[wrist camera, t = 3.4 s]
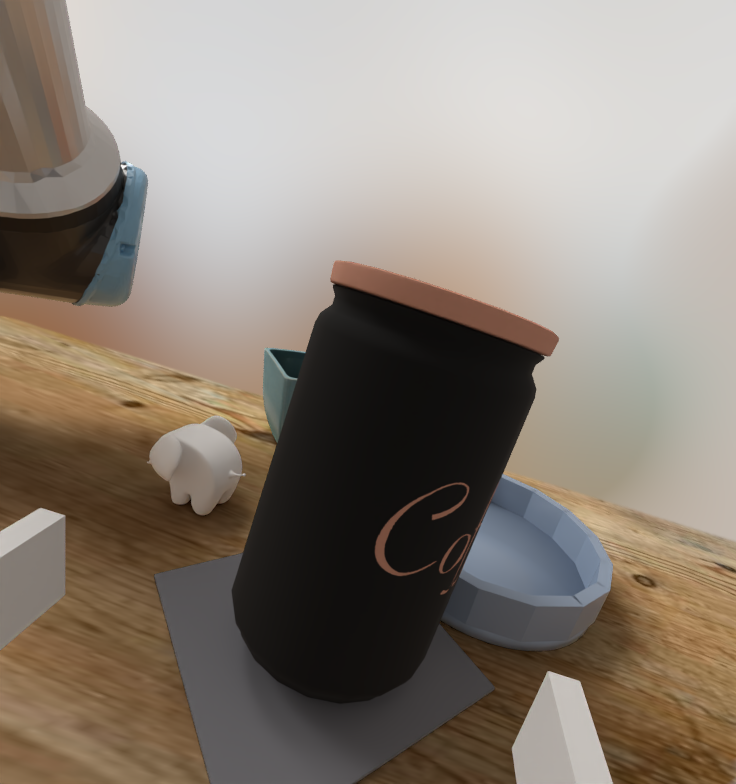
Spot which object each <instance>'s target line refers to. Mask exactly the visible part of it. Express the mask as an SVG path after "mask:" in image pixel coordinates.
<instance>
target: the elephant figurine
mask: <svg viewBox="0 0 736 784" xmlns="http://www.w3.org/2000/svg"><path fill="white" fill-rule="evenodd" d="M236 438H237V433H236V431H235V429H234V427H233V426H232V424H231V423H230V422H229V421H228V420H226V419H225V418H223V417H220V416H212V417H210V418H208V419H207V420H205V421H204V422H203V423H201V424H189V425H186V426H183V427H181V428H179V429H176V430H174V431H171V432H169V433H166V434H165V435H163V436H162V437H161V438H159V440H158V441H157V442H156V443H155V444H154V446H153V447H152V449H151V451H150V455H149V457H150V460H149V462H148V461H146V462H147V463H148V464H151V465H152V467H153V469H154V470H155V471H156V473H157V474H158V475H159V476H160V477H162V478H163V479H164V480H166V481H169V483H170V489H171V498H172V501H173V502H174V503H175V504H185V503H187V502H188V501H189V500H190V498H191V505H192V508H193V510H194V511H195V512H196V513H197V514H199V515H207V514H209V513H210V512H211V511H212V510H213V509H214V507H215V506H216V504H217V503H218V504H222V503H225V502H226V501H227V500H228V499H229V498H230V497H231V496H232V494H233V492H234V491H235V489H236V487H237V484H238V482H239V479H240V477H241V476H246V474H245V473H244V474H242V475H241V473H242V460H241V456H240V454H239V452H238V450H237V448H236V446H235V445H234V442H235V441H236Z"/></svg>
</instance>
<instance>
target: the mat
mask: <svg viewBox="0 0 736 784" xmlns="http://www.w3.org/2000/svg"><path fill="white" fill-rule="evenodd" d="M242 555H243V553H241V554H237V555H232V556H228V557H224V558H220V559H216V560H212V561H207V562H203V563H199V564H195V565H191V566H187V567H182V568H178V569H174V570H170V571H166V572H162V573H157V574H154V578H155V582H156V586H157V589H158V593H159V597H160V600H161V604H162V608H163V611H164V615H165V619H166V622H167V626H168V630H169V633H170V637H171V641H172V645H173V648H174V652H175V656H176V659H177V663H178V667H179V670H180V674H181V678H182V681H183V685H184V689H185V692H186V696H187V700H188V703H189V707H190V711H191V714H192V718H193V722H194V726H195V729H196V733H197V737H198V740H199V744H200V748H201V751H202V755H203V759H204V762H205V766H206V770H207V773H208V777H209V781H210V784H355V783H357V782H358V781H360V780H361V779H363V778H364V777H366V776H367V775H369V774H370V773H372V772H373V771H375V770H376V769H378V768H379V767H381V766H382V765H384V764H385V763H387V762H388V761H390V760H391V759H393V758H394V757H395V756H397V755H398V754H400V753H401V752H403V751H404V750H406V749H407V748H409V747H410V746H412V745H413V744H415V743H416V742H418V741H419V740H421V739H422V738H424V737H425V736H427V735H428V734H430V733H431V732H433V731H434V730H435V729H437V728H438V727H440V726H441V725H443V724H444V723H446V722H447V721H449V720H450V719H452V718H453V717H455V716H456V715H458V714H459V713H461V712H462V711H464V710H465V709H467V708H468V707H470V706H471V705H473V704H474V703H475V702H477V701H478V700H480V699H481V698H483V697H484V696H486V695H487V694H489V693H490V692H492V691H493V690H494V689H495V687H494V686H493V684H492V683H491V682H490V681H489V680H488V679H487V678H486V676H485V675H484V674H483V673H482V672H481V671H480V670H479V668H478V667H477V666H476V665H475V664H474V663H473V662H472V660H471V659H470V658H469V657H468V656H467V655H466V654H465V652H464V651H463V650H462V649H461V648H460V647H459V646H458V644H457V643H456V642H455V641H454V640H453V639H452V638H451V636H450V635H449V634H448V633H447V632H446V631H445V630H444V628H443V627H442V626H441V625H440V624H439V625H438V628H437V630H436V632H435V635H434V637H433V640H432V642H431V644H430V647H429V649H428V651H427V654H426V656H425V658H424V660H423V661H422V663H421V664H420V666H419V667H418V669H417V670H416V671H415V673H414V674H413V676H412V677H411V679H409V680H408V681H407V682H405V683H404V684H402V685H400V686H398V687H396V688H395V689H393V690H391V691H389V692H387V693H385V694H383V695H382V696H377V697H375V698H373V699H371V700H369V701H361V702H352V703H343V704H338V703H333V702H328V701H323V700H318V699H314V698H309V697H306V696H304V695H302V694H300V693H298V692H296V691H295V690H293V689H291V688H289V687H287V686H285V685H283V684H281V683H279V682H277V681H276V680H275V679H274V678H273V677H272V676H271V675H270V674H269V673H268V672H267V671H266V670H265V669H264V668H263V667H262V666H260V665H259V664H258V663H257V662H256V661H255V660H254V658H253V656H252V654H251V652H250V651H249V649H248V647H247V645H246V643H245V642H244V640H243V638H242V636H241V632H240V630H239V628H238V627H237V625H236V622H235V615H234V607H233V599H232V591H231V590H232V587H233V584H234V581H235V577H236V574H237V571H238V568H239V564H240V561H241V558H242Z"/></svg>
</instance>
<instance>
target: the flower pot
mask: <svg viewBox="0 0 736 784" xmlns="http://www.w3.org/2000/svg"><path fill="white" fill-rule="evenodd" d="M305 353H306V352H301V351H294V350H285V349H276V348H265V352H264V378H263V399H264V407H265V411H266V416H267V419H268V422H269V425H270V428H271V431H272V434H273V436H274V438H275V440H276V442H277V443H278V439H279V436H280V433H281V430H282V427H283V423H284V420H285V417H286V414H287V411H288V407H289V404H290V401H291V398H292V395H293V391H294V388H295V385H296V382H297V379H298V375H299V372H300V369H301V366H302V363H303V359H304V356H305Z"/></svg>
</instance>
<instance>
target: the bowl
mask: <svg viewBox="0 0 736 784" xmlns="http://www.w3.org/2000/svg"><path fill="white" fill-rule="evenodd" d="M612 570H613V564H612V562H611V560H610V559H609V557H608V555H607V553H606V551H605V550H604V548H603V546H602V544H601V542H600V540H599V539H598V537H597V536H596V535H595V534H594V533H593V532H592V531H591V530H590V529H589V528H588V527H587V526H586V525H585V524H584V523H582V522H581V521H580V520H579V519H578V518H577V517H576V516H575V515H574V514H573V513H572V512H571V511H570V510H568V509H567V508H565V507H564V506H562V505H560V504H559V503H557V502H556V501H554V500H553V499H551V498H550V497H548V496H546V495H545V494H543V493H542V492H540V491H539V490H537V489H535V488H533V487H531V486H528V485H526V484H524V483H522V482H519V481H517V480H515V479H513V478H510V477H508V476H506V475H504V474H502V477H501V479H500V481H499V484H498V486H497V488H496V491H495V493H494V495H493V498H492V500H491V503H490V505H489V507H488V510H487V512H486V514H485V517H484V519H483V521H482V524H481V526H480V529H479V531H478V533H477V536H476V538H475V540H474V543H473V545H472V547H471V550H470V552H469V555H468V557H467V559H466V562H465V564H464V566H463V569H462V571H461V573H460V576H459V578H458V581H457V583H456V585H455V588H454V590H453V592H452V595H451V597H450V599H449V602H448V604H447V606H446V609H445V611H444V614H443V616H442V618H441V621H442V622H444V623H446V624H447V625H449V626H451V627H452V628H454V629H456V630H458V631H461V632H463V633H465V634H467V635H469V636H471V637H474V638H476V639H479V640H482V641H484V642H487V643H490V644H494V645H497V646H501V647H505V648H510V649H516V650H523V651H547V650H555V649H559V648H562V647H566V646H568V645H570V644H572V643H574V642H576V641H577V640H578V639H579V638H580V637H581V636H583V635H584V633H585V632H586V630H587V629H588V627H589V626H590V625H592V624H593V623H594V622H595V620H596V618H597V616H598V614H599V612H600V610H601V608H602V606H603V604H604V602H605V600H606V598H607V596H608V594H609V592H610V588H611V579H612Z"/></svg>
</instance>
